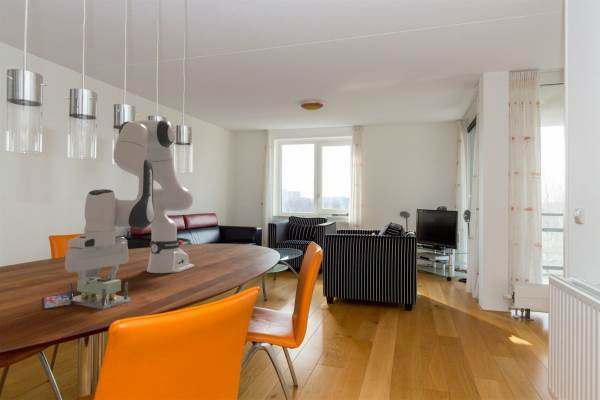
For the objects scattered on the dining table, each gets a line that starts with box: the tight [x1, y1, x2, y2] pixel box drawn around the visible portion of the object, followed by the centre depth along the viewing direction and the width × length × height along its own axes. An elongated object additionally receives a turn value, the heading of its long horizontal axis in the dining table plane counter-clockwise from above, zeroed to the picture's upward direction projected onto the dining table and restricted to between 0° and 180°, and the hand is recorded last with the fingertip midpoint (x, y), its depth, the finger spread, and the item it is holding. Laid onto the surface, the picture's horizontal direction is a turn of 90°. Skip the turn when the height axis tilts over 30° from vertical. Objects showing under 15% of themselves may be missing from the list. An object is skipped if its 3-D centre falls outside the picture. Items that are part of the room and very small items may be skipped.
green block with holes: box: [76, 276, 122, 295], centre depth 110 cm, size 6×12×4 cm, turn 74°
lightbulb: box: [85, 268, 102, 278], centre depth 126 cm, size 6×6×11 cm
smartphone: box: [41, 293, 74, 311], centre depth 109 cm, size 8×1×15 cm
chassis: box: [66, 282, 132, 310], centre depth 110 cm, size 10×17×6 cm, turn 68°
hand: (99, 281), depth 110 cm, fingers open, 8 cm apart
